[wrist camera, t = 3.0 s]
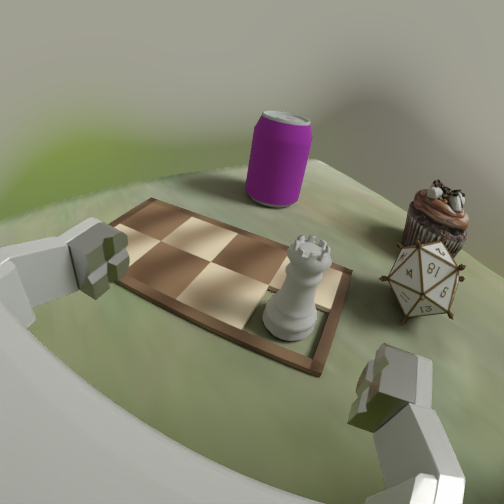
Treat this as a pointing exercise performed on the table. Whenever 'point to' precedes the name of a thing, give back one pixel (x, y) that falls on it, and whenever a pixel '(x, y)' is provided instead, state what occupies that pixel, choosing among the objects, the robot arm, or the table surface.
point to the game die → (424, 279)
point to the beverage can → (278, 158)
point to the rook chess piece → (298, 291)
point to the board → (219, 276)
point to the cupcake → (437, 218)
